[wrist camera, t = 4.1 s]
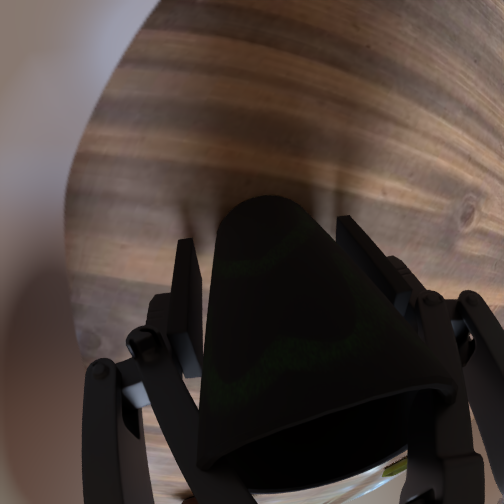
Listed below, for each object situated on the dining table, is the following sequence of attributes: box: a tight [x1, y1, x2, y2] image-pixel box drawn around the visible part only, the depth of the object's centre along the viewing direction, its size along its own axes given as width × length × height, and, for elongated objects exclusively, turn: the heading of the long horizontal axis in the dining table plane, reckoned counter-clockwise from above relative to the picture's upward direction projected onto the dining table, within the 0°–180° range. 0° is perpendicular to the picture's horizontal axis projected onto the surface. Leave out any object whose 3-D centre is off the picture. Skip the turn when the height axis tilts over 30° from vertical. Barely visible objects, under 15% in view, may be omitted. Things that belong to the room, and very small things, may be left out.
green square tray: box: [382, 458, 407, 477], centre depth 56 cm, size 9×9×2 cm
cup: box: [196, 196, 458, 494], centre depth 12 cm, size 8×8×12 cm
